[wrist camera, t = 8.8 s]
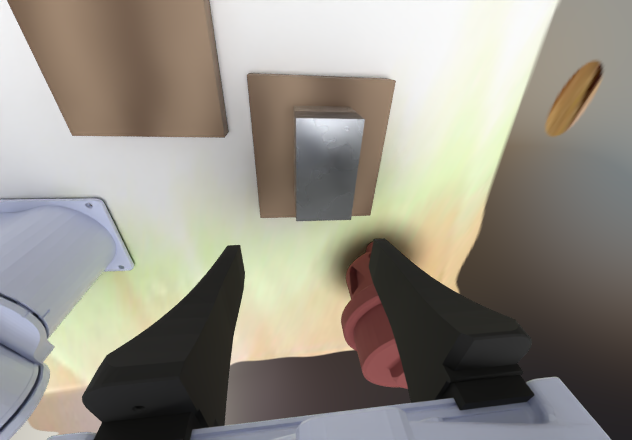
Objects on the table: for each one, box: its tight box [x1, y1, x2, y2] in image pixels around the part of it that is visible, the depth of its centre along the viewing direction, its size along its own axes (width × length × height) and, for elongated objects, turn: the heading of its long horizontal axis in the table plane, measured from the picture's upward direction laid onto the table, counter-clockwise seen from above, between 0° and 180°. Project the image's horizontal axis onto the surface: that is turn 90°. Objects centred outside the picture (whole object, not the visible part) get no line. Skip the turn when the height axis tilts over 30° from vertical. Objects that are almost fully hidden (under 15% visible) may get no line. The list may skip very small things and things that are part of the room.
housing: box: [294, 106, 365, 221], centre depth 18 cm, size 4×7×4 cm, turn 178°
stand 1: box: [7, 0, 228, 137], centre depth 15 cm, size 10×11×2 cm
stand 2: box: [247, 73, 396, 218], centre depth 20 cm, size 10×11×2 cm
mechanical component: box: [341, 242, 408, 389], centre depth 24 cm, size 12×10×10 cm
